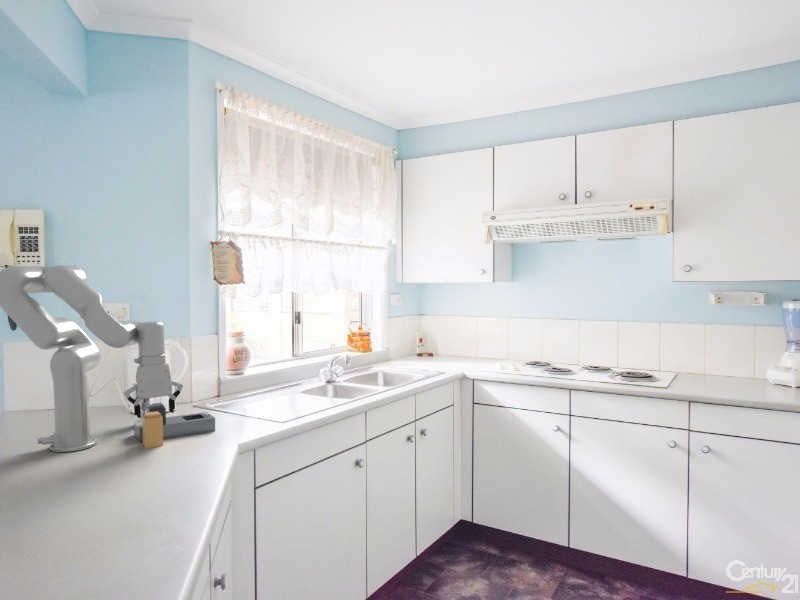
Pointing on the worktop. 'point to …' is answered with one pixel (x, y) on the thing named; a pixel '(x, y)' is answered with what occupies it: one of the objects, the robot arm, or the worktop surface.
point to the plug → (152, 429)
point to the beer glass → (142, 405)
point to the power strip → (178, 423)
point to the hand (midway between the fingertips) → (155, 414)
